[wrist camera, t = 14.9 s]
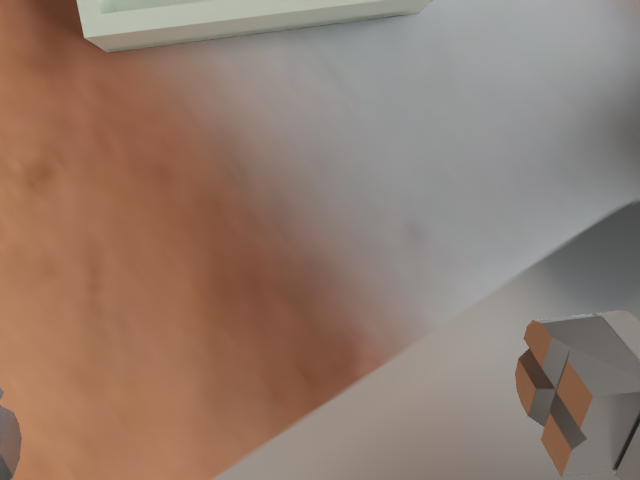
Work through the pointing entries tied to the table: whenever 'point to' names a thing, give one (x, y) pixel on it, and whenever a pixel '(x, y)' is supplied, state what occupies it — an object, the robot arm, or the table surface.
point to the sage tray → (219, 18)
